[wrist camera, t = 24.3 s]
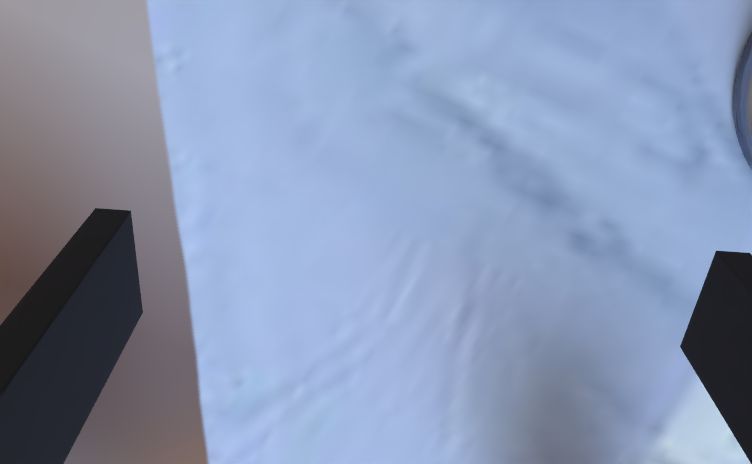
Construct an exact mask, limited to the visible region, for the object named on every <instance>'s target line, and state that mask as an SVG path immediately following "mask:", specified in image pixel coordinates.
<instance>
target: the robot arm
mask: <svg viewBox="0 0 752 464" xmlns="http://www.w3.org/2000/svg"><path fill="white" fill-rule="evenodd" d="M734 121H735V127H736V133H737V136H738V140H739V144H740V146H741V149H742V152H743V154H744V156H745V158H746V160H747V162H748V164H749V166H750V168H751V169H752V33H751V35H750V37H749V39H748V41H747V44H746V46H745V49H744V51H743V54H742V57H741V60H740V63H739V67H738V71H737V76H736V81H735V89H734ZM142 313H143V311H142V303H141V293H140V286H139V277H138V268H137V260H136V251H135V243H134V234H133V226H132V218H131V211H127V210H112V209H97V208H96V209H95V210H94V211H93V212H92V213H91V215H90V216H89V217H88V218H87V220H86V221H85V222H84V223H83V224H82V226H81V227H80V228H79V229H78V231H77V232H76V233H75V234H74V235H73V237H72V238H71V239H70V241H69V242H68V243H67V244H66V245H65V247H64V248H63V249H62V250H61V252H60V253H59V254H58V255H57V256H56V258H55V259H54V260H53V261H52V263H51V264H50V265H49V266H48V267H47V269H46V270H45V271H44V272H43V274H42V275H41V276H40V277H39V279H38V280H37V281H36V282H35V284H34V285H33V286H32V287H31V288H30V290H29V291H28V292H27V293H26V294H25V296H24V297H23V298H22V299H21V301H20V302H19V303H18V304H17V306H16V307H15V308H14V309H13V310H12V312H11V313H10V314H9V315H8V317H7V318H6V319H5V321H4V322H3V323H2V324H1V325H0V464H63V463H64V461H65V460H66V457H67V456H68V454H69V452H70V450H71V448H72V446H73V444H74V442H75V441H76V439H77V436H78V435H79V433H80V431H81V429H82V427H83V425H84V423H85V421H86V420H87V418H88V416H89V414H90V412H91V410H92V408H93V406H94V404H95V402H96V400H97V398H98V397H99V395H100V393H101V391H102V389H103V387H104V385H105V383H106V381H107V379H108V378H109V376H110V374H111V372H112V370H113V368H114V366H115V364H116V362H117V360H118V358H119V356H120V355H121V353H122V351H123V349H124V347H125V345H126V343H127V341H128V339H129V338H130V336H131V334H132V332H133V330H134V328H135V326H136V324H137V322H138V320H139V318H140V317H141V315H142ZM680 347H681V349H682V351H683V352H684V354H685V356H686V357H687V359H688V360H689V362H690V364H691V365H692V367H693V369H694V370H695V372H696V374H697V375H698V377H699V378H700V380H701V382H702V383H703V385H704V387H705V388H706V390H707V392H708V393H709V395H710V397H711V398H712V400H713V401H714V403H715V405H716V406H717V408H718V410H719V411H720V413H721V415H722V416H723V418H724V420H725V421H726V423H727V424H728V426H729V428H730V429H731V431H732V433H733V434H734V436H735V438H736V439H737V441H738V443H739V444H740V446H741V447H742V449H743V451H744V452H745V454H746V456H747V457H748V459H749V461H750V462H751V464H752V255H751V254H750V253H740V252H726V251H716V253H715V256H714V258H713V261H712V263H711V266H710V269H709V271H708V274H707V277H706V279H705V282H704V285H703V287H702V290H701V293H700V295H699V298H698V301H697V303H696V306H695V309H694V311H693V314H692V317H691V319H690V322H689V325H688V327H687V330H686V333H685V335H684V338H683V341H682V343H681V346H680Z"/></svg>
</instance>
